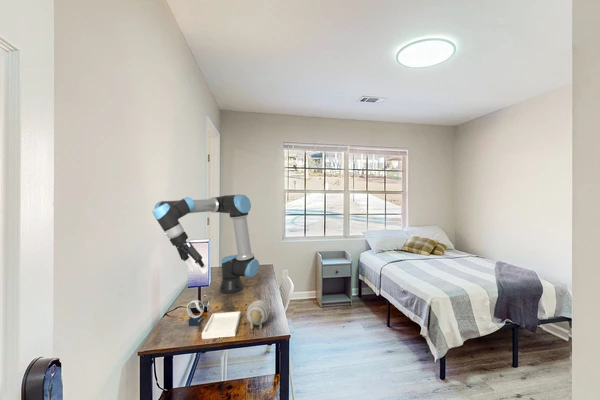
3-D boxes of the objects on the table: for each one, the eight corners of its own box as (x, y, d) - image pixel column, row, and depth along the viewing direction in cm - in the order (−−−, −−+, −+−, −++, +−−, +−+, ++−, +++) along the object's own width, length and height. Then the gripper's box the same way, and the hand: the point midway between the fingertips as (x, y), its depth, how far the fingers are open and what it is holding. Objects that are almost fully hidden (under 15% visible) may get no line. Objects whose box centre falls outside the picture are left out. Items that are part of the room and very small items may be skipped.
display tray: (212, 318, 129) (212, 313, 129) (240, 316, 130) (240, 311, 130) (201, 339, 109) (201, 333, 109) (235, 336, 110) (234, 330, 111)
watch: (201, 325, 121) (201, 302, 121) (185, 326, 121) (184, 303, 121) (206, 320, 127) (205, 298, 127) (190, 320, 127) (189, 298, 127)
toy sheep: (243, 333, 112) (243, 308, 112) (250, 317, 129) (250, 295, 129) (267, 332, 112) (266, 307, 113) (271, 316, 129) (270, 294, 129)
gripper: (160, 239, 126) (182, 274, 131) (179, 238, 109) (203, 278, 114) (174, 231, 131) (195, 264, 136) (194, 229, 114) (217, 267, 119)
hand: (199, 271), depth 125 cm, fingers open, 13 cm apart
